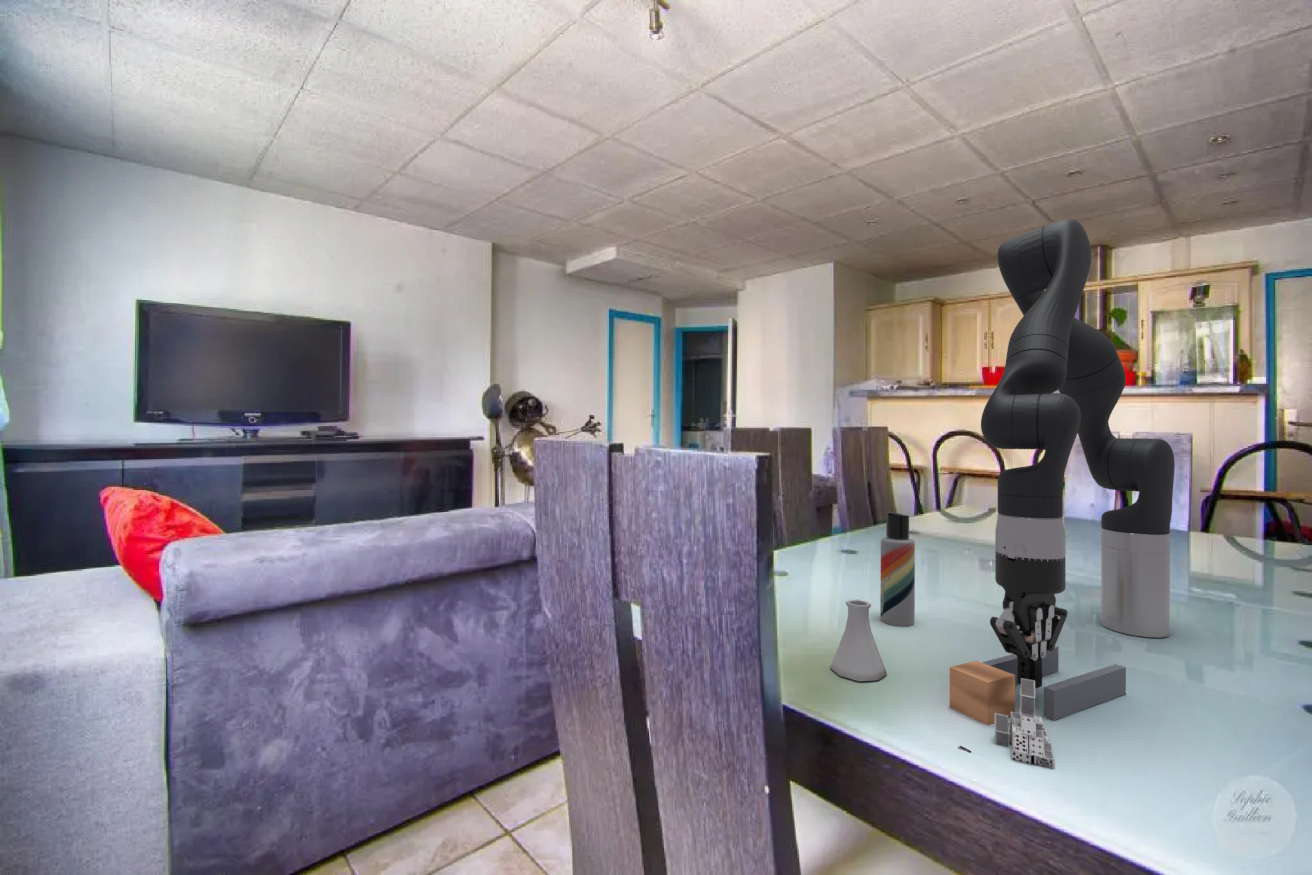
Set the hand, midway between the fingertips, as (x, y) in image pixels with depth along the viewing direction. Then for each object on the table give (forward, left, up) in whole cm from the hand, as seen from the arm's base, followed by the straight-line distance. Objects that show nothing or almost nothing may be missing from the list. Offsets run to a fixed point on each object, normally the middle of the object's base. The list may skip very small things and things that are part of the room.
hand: (1029, 686), depth 74 cm
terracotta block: (+9, -1, -2) cm, 9 cm away
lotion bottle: (-10, -29, -2) cm, 31 cm away
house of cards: (+13, +5, -2) cm, 14 cm away
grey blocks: (-5, 0, -2) cm, 5 cm away
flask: (+13, -16, -2) cm, 21 cm away
